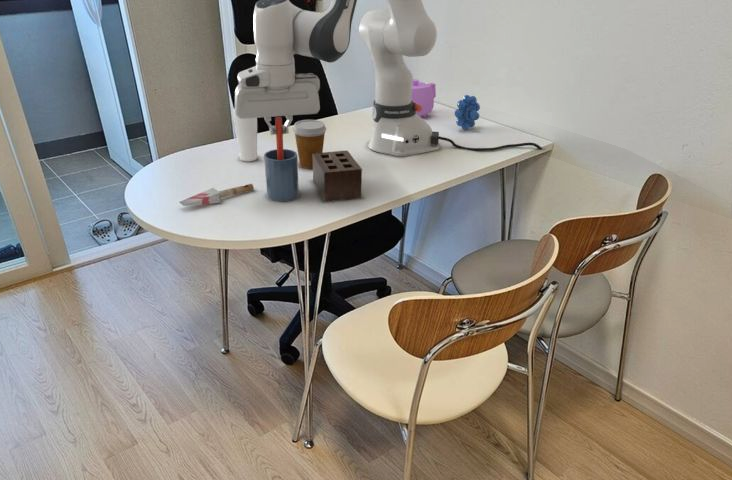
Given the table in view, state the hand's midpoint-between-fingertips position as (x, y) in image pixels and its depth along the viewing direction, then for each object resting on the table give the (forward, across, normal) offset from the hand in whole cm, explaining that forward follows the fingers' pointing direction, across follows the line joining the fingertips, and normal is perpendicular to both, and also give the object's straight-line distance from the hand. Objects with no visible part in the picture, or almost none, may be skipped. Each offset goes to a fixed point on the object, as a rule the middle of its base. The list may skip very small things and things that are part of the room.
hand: (279, 133), depth 137 cm
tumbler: (+16, 0, 0) cm, 16 cm away
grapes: (+16, -71, -37) cm, 81 cm away
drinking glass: (+17, +5, -28) cm, 33 cm away
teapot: (+16, -58, -58) cm, 83 cm away
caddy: (+16, -15, 0) cm, 22 cm away
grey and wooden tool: (+17, +16, -1) cm, 23 cm away
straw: (+12, 0, 0) cm, 12 cm away
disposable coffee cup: (+16, -12, -19) cm, 28 cm away
